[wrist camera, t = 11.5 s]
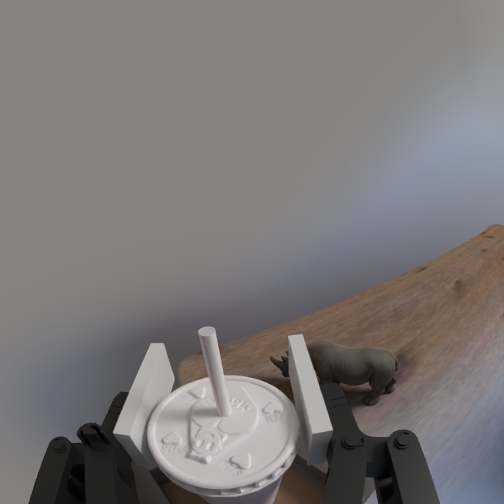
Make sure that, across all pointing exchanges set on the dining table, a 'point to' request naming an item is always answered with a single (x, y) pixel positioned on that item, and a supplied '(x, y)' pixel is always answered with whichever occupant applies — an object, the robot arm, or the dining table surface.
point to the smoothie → (225, 434)
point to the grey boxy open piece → (287, 498)
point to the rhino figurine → (350, 366)
